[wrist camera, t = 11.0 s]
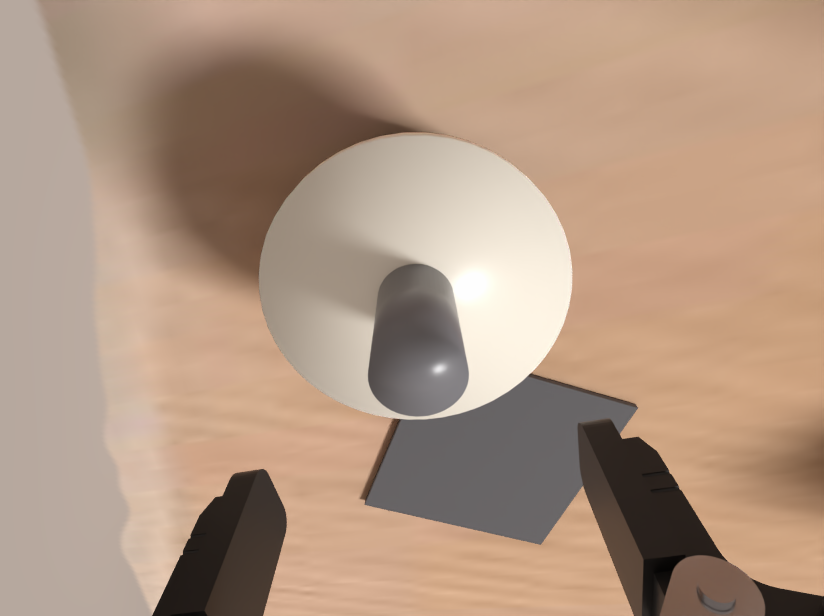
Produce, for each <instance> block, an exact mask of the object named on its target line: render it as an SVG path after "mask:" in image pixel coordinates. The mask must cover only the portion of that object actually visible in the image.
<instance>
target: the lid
mask: <svg viewBox="0 0 824 616" xmlns="http://www.w3.org/2000/svg"><path fill="white" fill-rule="evenodd" d="M571 291H572V264H571V256H570V250H569V246H568V243H567V239H566V236H565V232H564V230H563V228H562V226H561V223H560V221H559V219H558V217H557V215H556V213H555V211H554V210H553V208H552V207H551V205H550V204H549V202H548V201H547V199H546V198H545V196H544V195H543V194H542V193H541V192H540V191H539V189H538V188H537V187H536V186H535V185H534V184H533V183H532V182H531V180H530V179H529V178H528V177H527V176H526V175H524V174H523V173H522V172H521V171H520V170H518V169H517V168H516V167H515V166H514V165H513V164H511V163H510V162H509V161H507V160H506V159H504V158H503V157H501V156H499V155H498V154H496V153H494V152H493V151H491V150H489V149H487V148H485V147H482V146H480V145H478V144H475V143H473V142H471V141H468V140H464V139H460V138H457V137H453V136H450V135H443V134H435V133H428V132H404V133H397V134H390V135H383V136H379V137H375V138H372V139H369V140H365V141H362V142H359V143H356V144H354V145H352V146H350V147H348V148H345V149H343V150H341V151H339V152H337V153H336V154H334V155H333V156H331V157H330V158H328V159H326V160H325V161H323V162H322V163H320V164H319V165H318V166H317V167H316V168H315V169H313V170H312V171H311V172H310V173H309V174H308V175H306V176H305V177H304V178H303V180H302V181H301V182H300V183H299V184H298V185H297V186H296V188H295V189H294V190H293V191H292V192H291V193H290V195H289V196H288V197H287V198H286V199H285V201H284V202H283V204H282V206H281V207H280V209H279V210H278V212H277V213H276V215H275V216H274V219H273V221H272V223H271V225H270V228H269V230H268V232H267V234H266V238H265V241H264V245H263V249H262V252H261V258H260V267H259V293H260V299H261V304H262V310H263V313H264V316H265V319H266V322H267V325H268V328H269V330H270V332H271V334H272V336H273V338H274V341H275V343H276V344H277V346H278V347H279V349H280V350H281V352H282V353H283V355H284V357H285V358H286V359H287V360H288V362H289V363H290V364H291V365H292V366H293V367H294V369H295V370H296V371H297V372H298V373H299V374H300V375H301V376H302V377H303V378H305V379H306V380H307V381H308V382H309V383H310V384H311V385H313V386H314V387H316V388H317V389H318V390H320V391H321V392H322V393H324V394H325V395H327V396H329V397H331V398H333V399H334V400H336V401H338V402H340V403H342V404H344V405H347V406H349V407H351V408H354V409H356V410H359V411H363V412H366V413H369V414H372V415H377V416H382V417H387V418H396V419H407V420H415V419H433V418H442V417H447V416H451V415H456V414H460V413H463V412H466V411H469V410H472V409H475V408H478V407H480V406H482V405H485V404H487V403H489V402H491V401H493V400H495V399H497V398H498V397H500V396H502V395H503V394H505V393H507V392H508V391H510V390H511V389H512V388H514V387H515V386H516V385H518V384H519V383H520V382H522V381H523V380H524V379H525V378H526V377H527V376H528V375H529V374H530V373H531V372H532V371H533V370H534V369H535V368H536V367H537V366H538V365H539V364H540V362H541V361H542V360H543V359H544V358H545V356H546V355H547V353H548V352H549V350H550V349H551V347H552V346H553V344H554V342H555V341H556V339H557V337H558V335H559V333H560V330H561V328H562V326H563V324H564V321H565V318H566V314H567V311H568V308H569V303H570V297H571Z"/></svg>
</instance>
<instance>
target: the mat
mask: <svg viewBox="0 0 824 616" xmlns="http://www.w3.org/2000/svg"><path fill="white" fill-rule="evenodd" d="M637 409H638V407H637V406H636V404H632V403H629V402H626V401H622V400H619V399H615V398H612V397H608V396H605V395H601V394H598V393H594V392H591V391H587V390H584V389H580V388H577V387H573V386H570V385H567V384H563V383H560V382H556V381H553V380H549V379H546V378H542V377H539V376H535V375H532V374H529V375H528V376H527V377H526V378H525V379H524V380H523V381H522V382H520V383H519V384H518V385H516V386H515V387H514V388H512V389H511V390H510V391H508V392H507V393H505V394H503V395H502V396H500V397H498V398H497V399H495V400H493V401H491V402H489V403H487V404H485V405H482V406H480V407H478V408H475V409H472V410H469V411H466V412H463V413H460V414H456V415H451V416H447V417H442V418H433V419H415V420H407V419H400V420H399V422H398V425H397V427H396V429H395V432H394V434H393V436H392V439H391V441H390V443H389V446H388V448H387V451H386V453H385V455H384V458H383V460H382V462H381V465H380V467H379V469H378V472H377V474H376V477H375V479H374V481H373V484H372V486H371V488H370V491H369V493H368V495H367V498H366V500H365V505H368V506H372V507H377V508H381V509H386V510H390V511H394V512H399V513H403V514H408V515H412V516H416V517H421V518H425V519H430V520H434V521H439V522H443V523H447V524H452V525H456V526H461V527H465V528H469V529H474V530H478V531H483V532H487V533H491V534H496V535H500V536H505V537H509V538H513V539H518V540H522V541H527V542H531V543H535V544H540V545H541V544H542V542H543V541H544V539H545V538H546V537H547V535H548V534H549V532H550V531H551V530H552V528H553V527H554V525H555V524H556V523H557V521H558V520H559V518H560V517H561V516H562V514H563V513H564V511H565V510H566V508H567V507H568V506H569V504H570V503H571V501H572V500H573V499H574V497H575V496H576V494H577V493H578V492H579V490H580V489H581V487H582V486H583V482H582V478H581V473H580V465H579V447H578V430H577V426H578V423H580V422H587V421H594V420H600V419H607V418H609V419H611V420H612V422H613V423H614V425H615V427H616V429H617V431H618V432H619V434H620V433H621V431H622V430H623V428H624V427H625V426H626V424H627V423H628V421H629V420H630V419H631V417H632V416H633V414H634V413H635V412H636V410H637Z"/></svg>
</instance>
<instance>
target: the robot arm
mask: <svg viewBox="0 0 824 616" xmlns="http://www.w3.org/2000/svg"><path fill="white" fill-rule="evenodd" d="M577 430H578V447H579V465H580V473H581V478H582V482H583V486H584V489H585V492H586V495H587V498H588V500H589V503H590V505H591V508H592V510H593V513H594V515H595V518H596V520H597V523H598V525H599V528H600V530H601V533H602V536H603V538H604V541H605V543H606V546H607V548H608V551H609V553H610V556H611V558H612V561H613V563H614V566H615V568H616V571H617V573H618V576H619V579H620V581H621V584H622V586H623V589H624V591H625V594H626V596H627V599H628V601H629V604H630V606H631V609H632V611H633V614H634V616H824V597H823V596H818V595H812V594H807V593H802V592H796V591H791V590H785V589H780V588H776V587H772V586H768V585H765V584H762V583H760V582H758V581H756V580H753V579H751V578H750V577H749V576H748V575H747V574H745V573H744V572H743V571H742V570H740V569H739V568H738V567H736V566H734V565H733V564H731V563H729V562H728V561H727V560H726V559H725V558H724V557H723V556H722V554H721V553H720V552H719V550H718V549H717V547H716V545H715V544H714V542H713V541H712V539H711V537H710V536H709V534H708V533H707V531H706V529H705V528H704V526H703V525H702V523H701V521H700V520H699V518H698V516H697V515H696V513H695V512H694V510H693V508H692V507H691V505H690V504H689V502H688V500H687V499H686V497H685V496H684V494H683V492H682V491H681V490H680V489H679V486H678V484H677V483H676V481H675V479H674V478H673V476H672V475H671V474H670V473H669V470H668V468H667V467H666V465H665V463H664V462H663V460H662V458H661V457H660V455H659V454H658V452H657V451H656V450H654V449H653V448H652V447H651V446H649V445H648V444H647V443H645V442H644V441H643V440H642V439H640V438H639V437H633V438H627V439H622V438H621V436H620V434H619V432H618V431H617V429H616V427H615V425H614V423H613V422H612V420H611V419H609V418H607V419H600V420H594V421H587V422H580V423H578V426H577ZM286 526H287V520H286V512H285V509H284V506H283V504H282V502H281V500H280V498H279V496H278V493H277V491H276V489H275V487H274V485H273V483H272V481H271V479H270V477H269V474H268V473H267V471H266V470H264V469H260V470H253V471H247V472H240V473H235V474H234V475H232V477H231V478H230V480H229V483H228V485H227V487H226V490H225V492H224V494H223V496H220V497H215V498H214V499H213V501H212V502H211V503H210V504H209V505H208V506H207V508H206V509H205V510H204V511H203V512H202V513H201V515H200V516H199V518H198V520H197V522H196V524H195V527H194V529H193V531H192V533H191V538H190V539H188V541H187V543H186V546H185V548H184V550H183V555H181V556H180V558H179V560H178V562H177V564H176V567H175V569H174V571H173V573H172V575H171V577H170V579H169V581H168V583H167V586H166V588H165V590H164V592H163V594H162V596H161V598H160V600H159V602H158V605H157V607H156V609H155V611H154V613H153V615H152V616H263V614H264V610H265V606H266V603H267V599H268V595H269V592H270V588H271V584H272V581H273V577H274V573H275V570H276V566H277V563H278V559H279V555H280V552H281V548H282V544H283V541H284V537H285V533H286Z"/></svg>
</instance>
